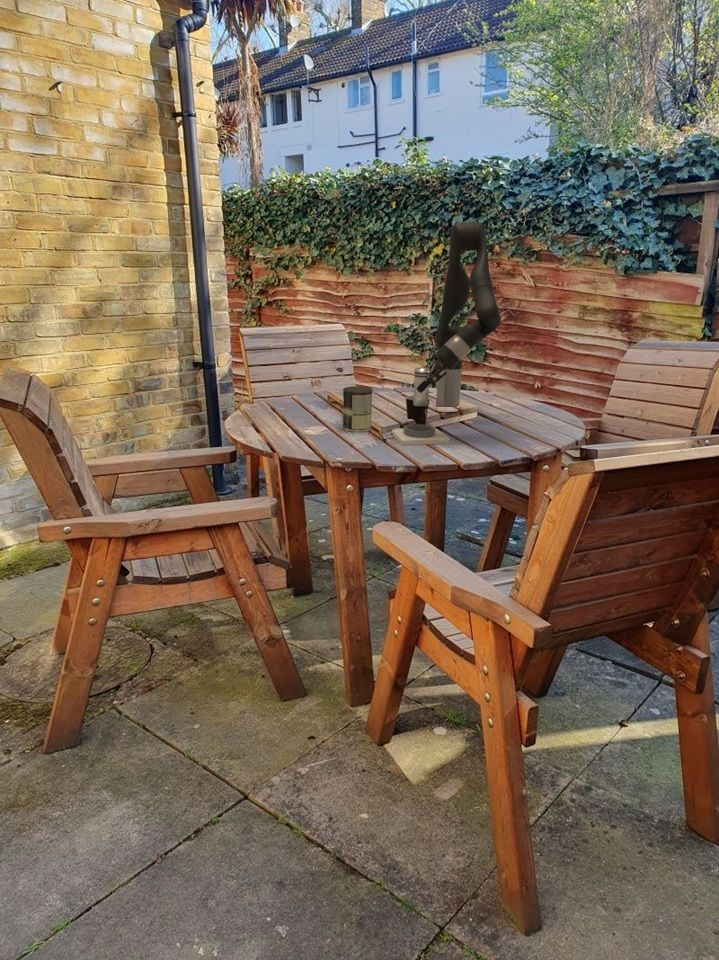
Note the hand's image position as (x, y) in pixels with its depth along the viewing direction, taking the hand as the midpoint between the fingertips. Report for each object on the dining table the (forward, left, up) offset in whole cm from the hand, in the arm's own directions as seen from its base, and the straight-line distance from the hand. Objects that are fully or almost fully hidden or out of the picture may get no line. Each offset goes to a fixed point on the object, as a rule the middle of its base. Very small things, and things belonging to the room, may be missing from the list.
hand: (416, 389), depth 223 cm
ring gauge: (0, +2, -17) cm, 17 cm away
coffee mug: (-19, +8, -17) cm, 27 cm away
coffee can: (-16, -16, -17) cm, 28 cm away
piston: (0, +2, -5) cm, 6 cm away
